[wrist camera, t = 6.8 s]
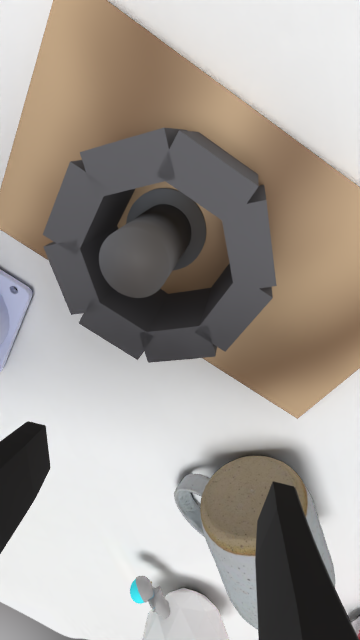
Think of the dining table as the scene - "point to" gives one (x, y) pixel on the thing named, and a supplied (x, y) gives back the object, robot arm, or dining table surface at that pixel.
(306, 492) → the ceramic mug
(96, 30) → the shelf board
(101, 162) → the dark grey octagonal ring
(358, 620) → the soda can
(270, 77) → the dining table surface
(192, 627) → the perfume bottle
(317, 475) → the dining table surface
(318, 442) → the dining table surface
